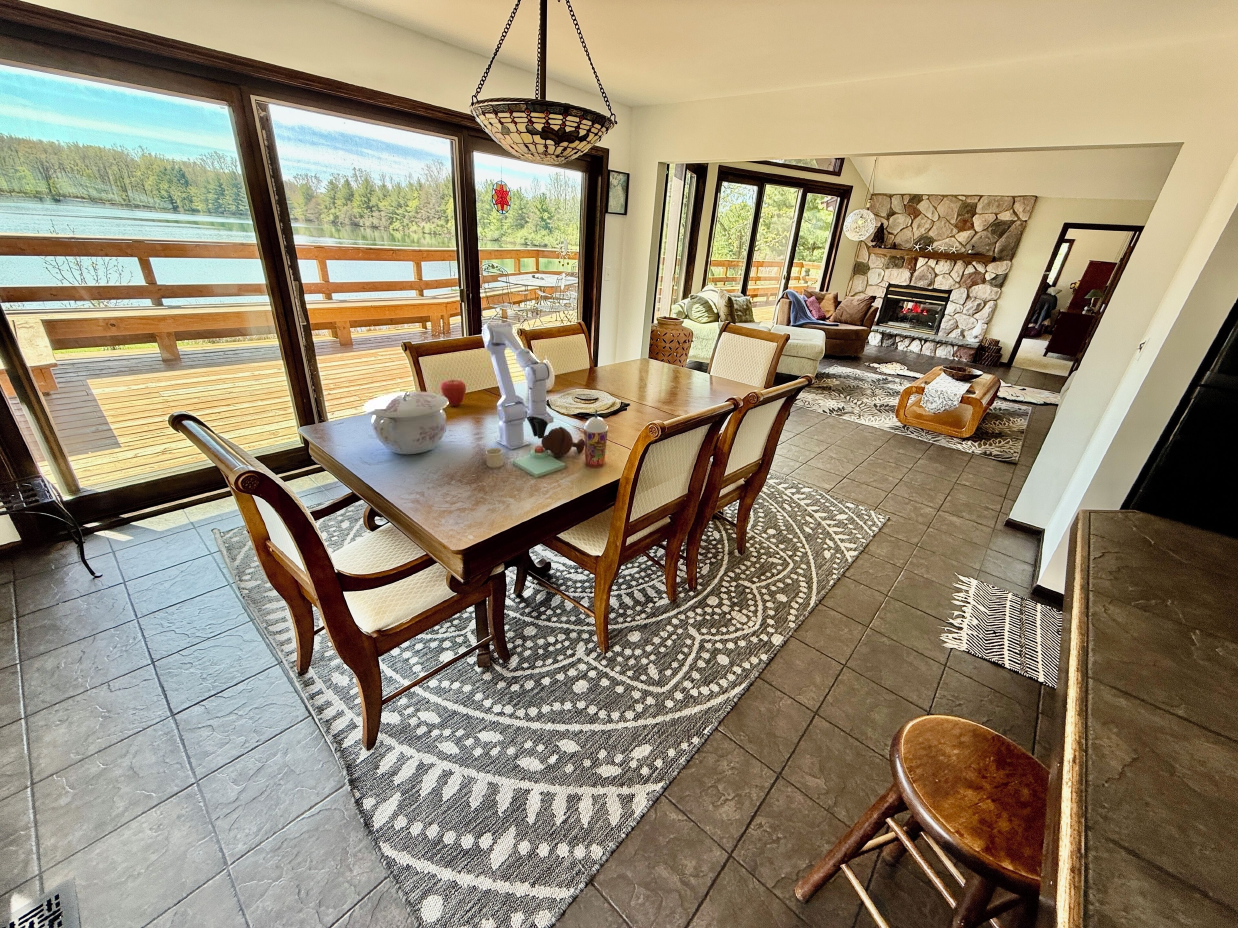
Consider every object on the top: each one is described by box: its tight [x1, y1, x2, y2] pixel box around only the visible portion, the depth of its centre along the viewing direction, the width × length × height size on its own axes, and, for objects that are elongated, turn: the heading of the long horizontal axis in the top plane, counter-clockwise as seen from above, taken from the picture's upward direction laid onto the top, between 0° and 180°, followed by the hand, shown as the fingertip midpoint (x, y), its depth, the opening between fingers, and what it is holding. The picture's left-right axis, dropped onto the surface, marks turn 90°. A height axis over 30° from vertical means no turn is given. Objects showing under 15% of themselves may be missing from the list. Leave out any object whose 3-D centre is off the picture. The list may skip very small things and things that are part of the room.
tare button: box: [534, 445, 544, 453], centre depth 169 cm, size 3×3×2 cm
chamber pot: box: [363, 390, 449, 455], centre depth 170 cm, size 28×28×21 cm
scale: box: [512, 447, 566, 479], centre depth 165 cm, size 14×12×3 cm
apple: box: [439, 379, 467, 407], centre depth 215 cm, size 11×11×12 cm
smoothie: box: [583, 409, 609, 468], centre depth 164 cm, size 8×8×20 cm
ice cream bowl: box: [540, 426, 585, 458], centre depth 172 cm, size 11×11×15 cm
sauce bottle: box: [543, 355, 556, 392], centre depth 240 cm, size 8×8×18 cm
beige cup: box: [485, 447, 504, 469], centre depth 163 cm, size 6×6×5 cm
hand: (538, 436), depth 167 cm, fingers closed
